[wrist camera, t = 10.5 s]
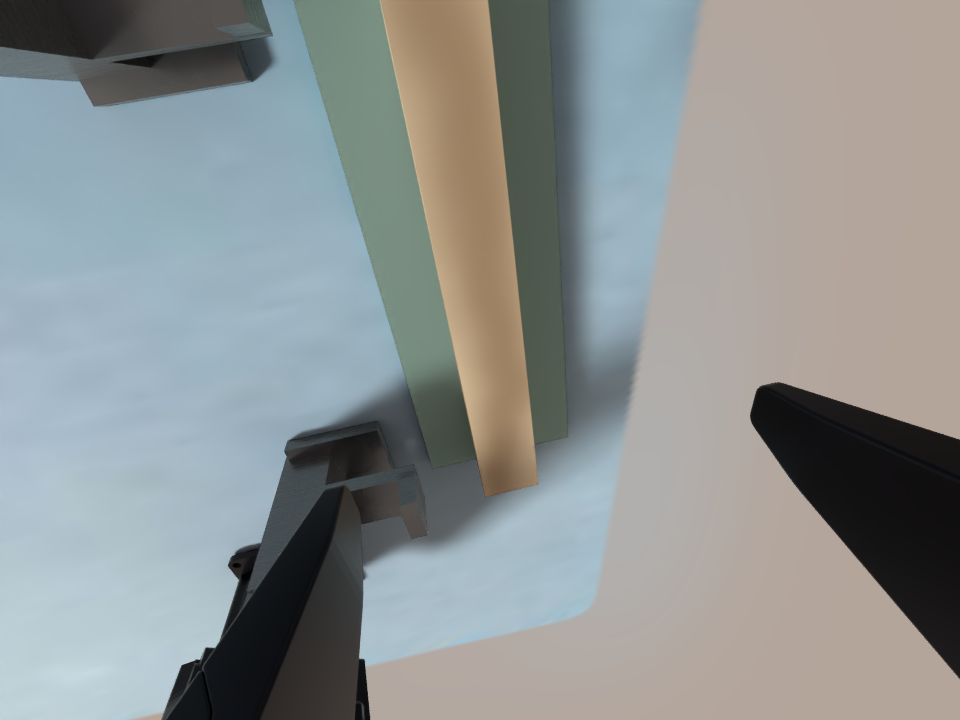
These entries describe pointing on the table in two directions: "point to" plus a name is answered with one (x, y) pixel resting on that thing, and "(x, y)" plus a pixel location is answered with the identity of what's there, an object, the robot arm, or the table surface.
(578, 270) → the table surface
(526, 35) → the mat
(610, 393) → the table surface
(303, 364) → the table surface
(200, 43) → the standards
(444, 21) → the rail
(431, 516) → the table surface
